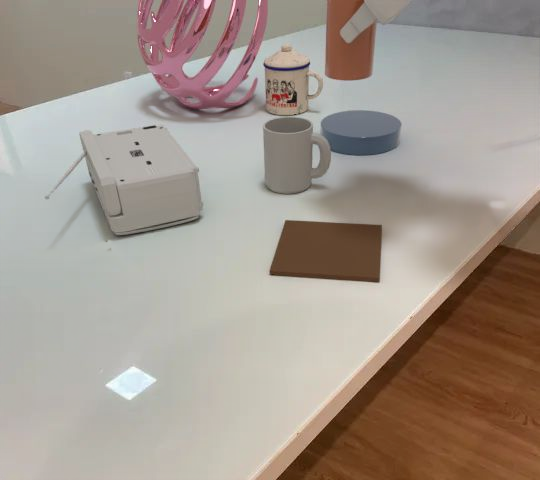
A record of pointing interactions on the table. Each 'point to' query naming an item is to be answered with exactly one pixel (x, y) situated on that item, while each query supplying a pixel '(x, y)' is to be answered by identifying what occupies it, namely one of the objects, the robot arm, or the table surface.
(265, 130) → the cup
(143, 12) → the spiral basket
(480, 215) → the table surface
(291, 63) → the teacup with lid
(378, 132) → the stand
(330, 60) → the orange upright cylinder
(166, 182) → the radio
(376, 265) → the mat
